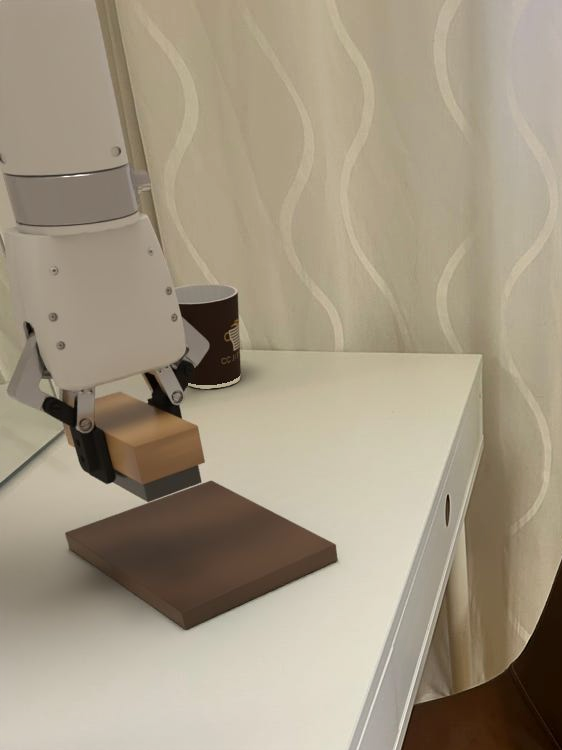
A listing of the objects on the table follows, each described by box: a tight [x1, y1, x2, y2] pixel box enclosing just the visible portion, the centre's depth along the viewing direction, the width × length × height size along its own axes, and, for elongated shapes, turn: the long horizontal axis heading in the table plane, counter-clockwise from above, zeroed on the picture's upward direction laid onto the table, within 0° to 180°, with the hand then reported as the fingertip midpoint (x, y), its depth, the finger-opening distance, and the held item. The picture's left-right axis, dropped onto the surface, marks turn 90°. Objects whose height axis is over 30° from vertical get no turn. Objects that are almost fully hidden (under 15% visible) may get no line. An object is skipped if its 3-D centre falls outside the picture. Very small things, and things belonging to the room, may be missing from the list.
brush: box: [62, 391, 206, 503], centre depth 71 cm, size 11×5×4 cm, turn 46°
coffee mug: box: [174, 283, 242, 385], centre depth 111 cm, size 12×9×10 cm
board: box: [64, 480, 338, 630], centre depth 79 cm, size 18×14×2 cm
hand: (137, 463), depth 72 cm, fingers closed on brush, 5 cm apart
